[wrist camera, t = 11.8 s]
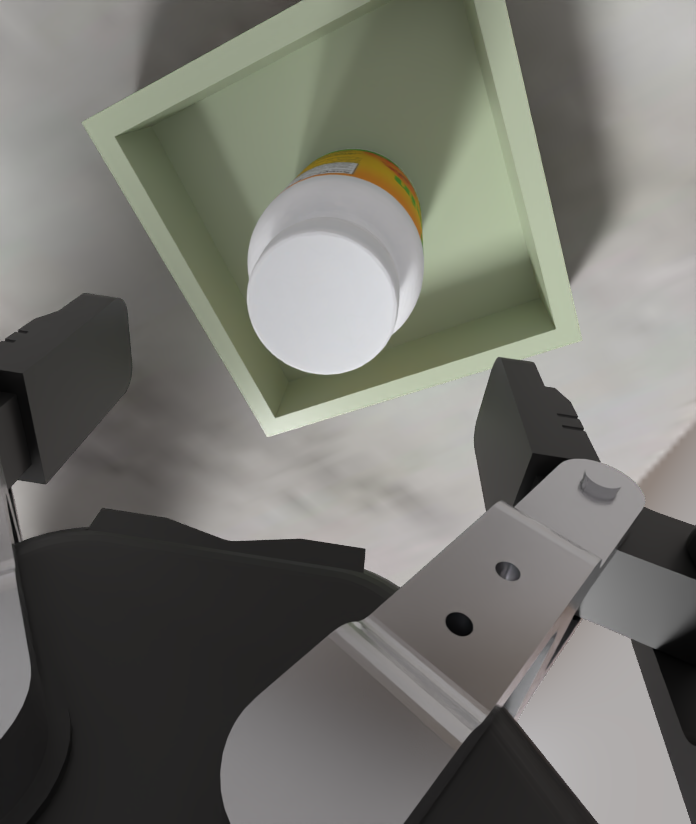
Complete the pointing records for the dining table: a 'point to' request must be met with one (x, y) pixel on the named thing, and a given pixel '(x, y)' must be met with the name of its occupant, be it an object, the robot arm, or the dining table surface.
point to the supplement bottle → (336, 262)
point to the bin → (340, 129)
